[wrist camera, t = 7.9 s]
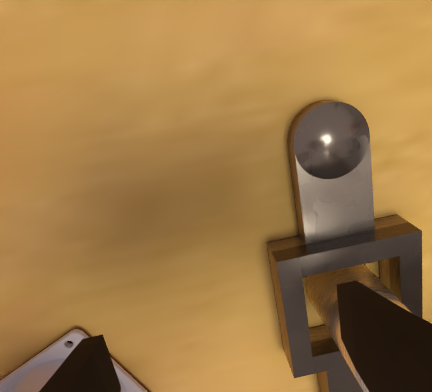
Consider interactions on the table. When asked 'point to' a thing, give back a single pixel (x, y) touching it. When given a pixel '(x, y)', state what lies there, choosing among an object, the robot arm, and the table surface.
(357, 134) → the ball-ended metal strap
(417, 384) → the robot arm
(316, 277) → the steel pin
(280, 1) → the table surface
